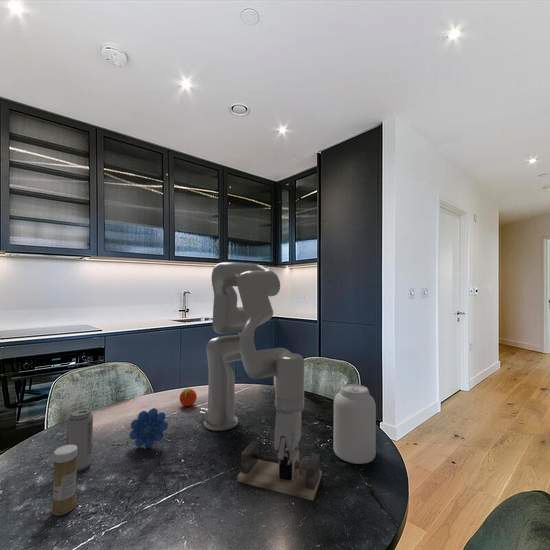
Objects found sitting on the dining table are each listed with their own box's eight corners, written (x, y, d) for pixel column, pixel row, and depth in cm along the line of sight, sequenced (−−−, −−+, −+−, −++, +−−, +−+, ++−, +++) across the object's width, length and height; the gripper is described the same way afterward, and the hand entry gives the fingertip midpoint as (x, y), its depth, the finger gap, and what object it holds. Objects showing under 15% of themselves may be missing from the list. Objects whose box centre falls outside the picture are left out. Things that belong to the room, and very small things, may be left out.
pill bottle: (48, 510, 70) (50, 449, 70) (72, 499, 74) (73, 441, 74) (55, 520, 67) (57, 456, 68) (78, 508, 71) (80, 448, 71)
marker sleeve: (278, 476, 80) (278, 457, 80) (284, 466, 84) (284, 447, 85) (293, 480, 78) (293, 460, 79) (298, 469, 83) (299, 450, 83)
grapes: (171, 440, 102) (171, 402, 102) (165, 451, 95) (165, 411, 96) (134, 440, 101) (135, 403, 102) (126, 451, 95) (127, 411, 95)
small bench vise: (237, 481, 81) (238, 456, 81) (253, 461, 90) (253, 438, 91) (313, 500, 74) (313, 472, 74) (321, 476, 83) (321, 451, 84)
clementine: (193, 410, 126) (193, 392, 126) (176, 410, 126) (176, 392, 126) (198, 402, 134) (198, 386, 134) (182, 402, 134) (182, 385, 134)
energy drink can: (68, 463, 88) (70, 409, 89) (93, 458, 91) (94, 406, 91) (63, 475, 83) (65, 418, 83) (90, 470, 85) (91, 414, 86)
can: (369, 470, 87) (369, 397, 87) (327, 456, 93) (327, 389, 94) (380, 450, 97) (380, 385, 98) (341, 439, 104) (342, 378, 104)
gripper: (286, 389, 91) (285, 453, 91) (264, 412, 75) (263, 488, 75) (311, 393, 89) (310, 458, 88) (294, 417, 73) (293, 496, 72)
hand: (288, 471), depth 81 cm, fingers closed on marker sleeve, 5 cm apart
